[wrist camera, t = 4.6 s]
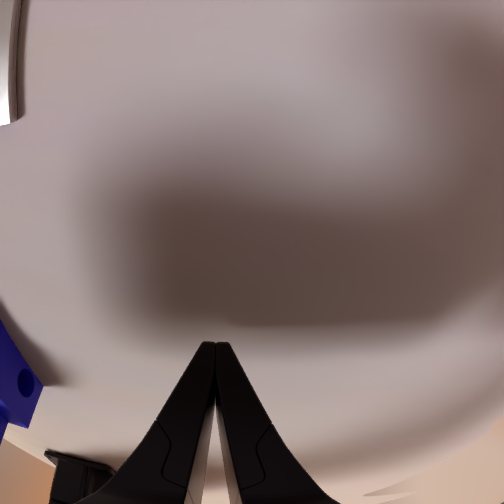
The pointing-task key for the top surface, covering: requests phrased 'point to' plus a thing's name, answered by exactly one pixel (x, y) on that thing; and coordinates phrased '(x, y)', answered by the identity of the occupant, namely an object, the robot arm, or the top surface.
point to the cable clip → (15, 386)
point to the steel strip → (8, 59)
